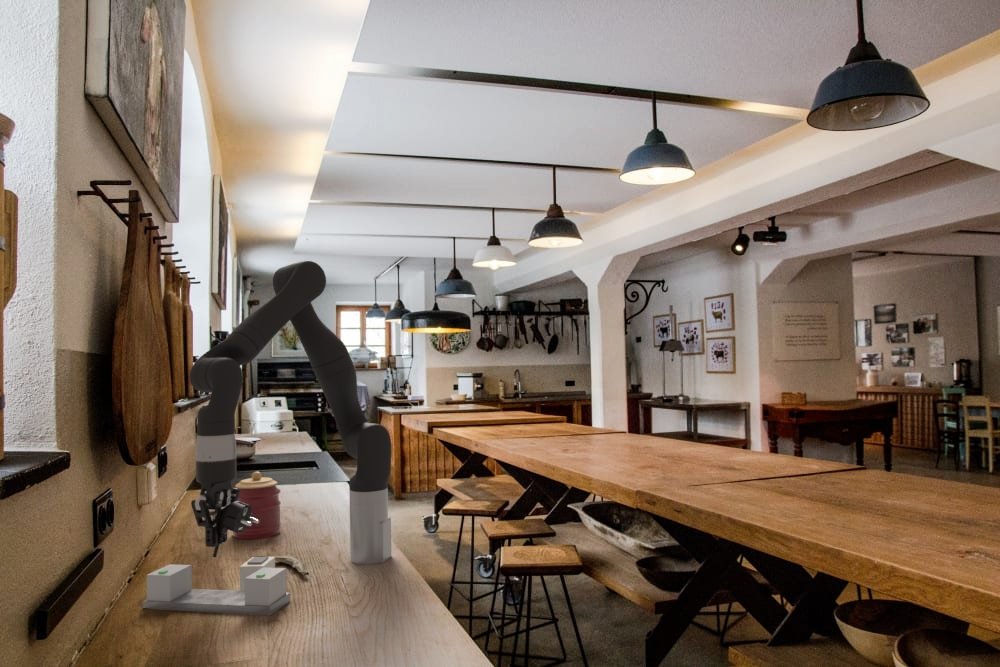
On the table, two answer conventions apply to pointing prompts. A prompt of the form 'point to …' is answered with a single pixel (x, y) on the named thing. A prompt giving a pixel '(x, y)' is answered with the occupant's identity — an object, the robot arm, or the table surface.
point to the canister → (260, 506)
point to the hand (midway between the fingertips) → (216, 543)
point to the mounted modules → (177, 581)
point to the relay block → (254, 567)
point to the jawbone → (290, 562)
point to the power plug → (233, 520)
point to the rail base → (216, 603)
